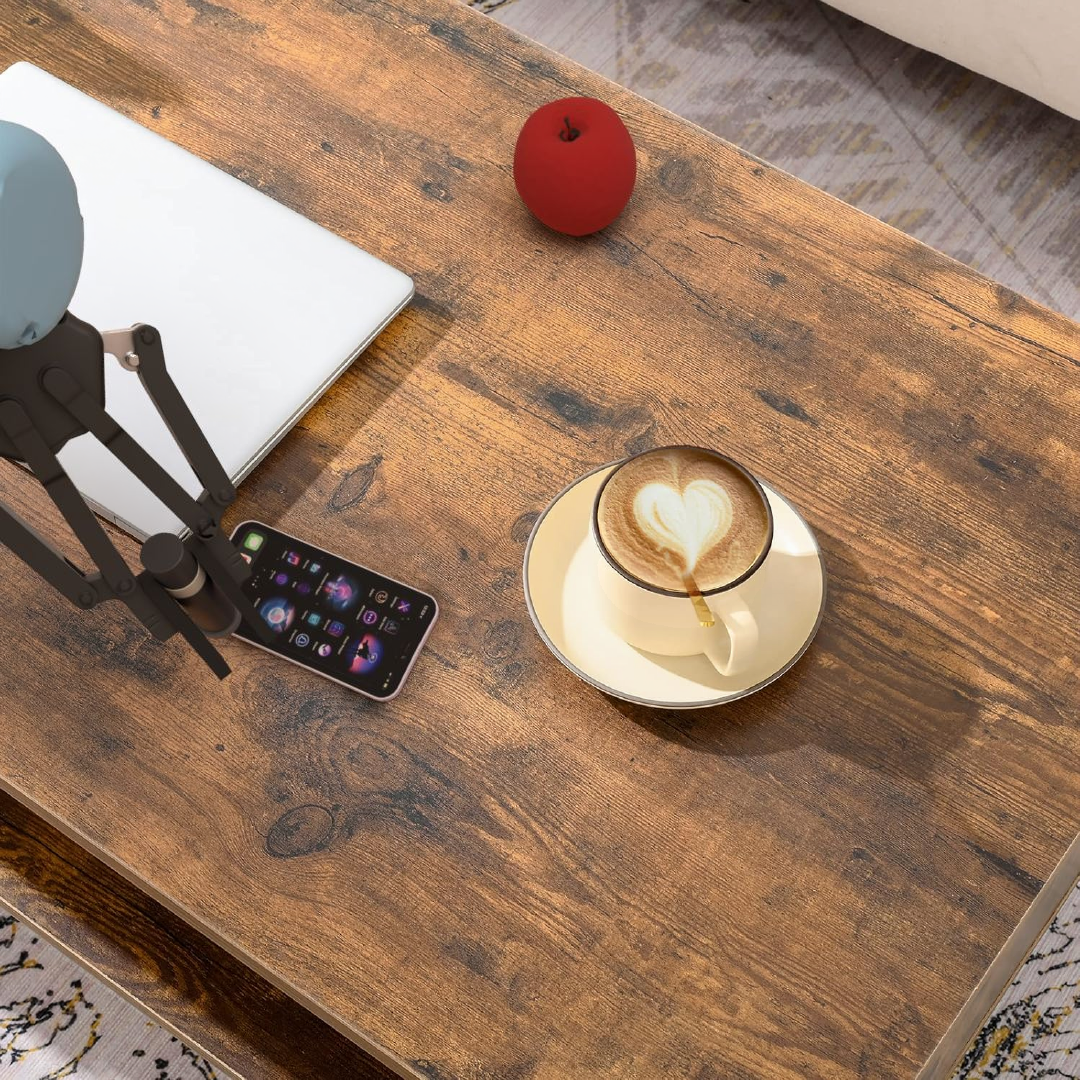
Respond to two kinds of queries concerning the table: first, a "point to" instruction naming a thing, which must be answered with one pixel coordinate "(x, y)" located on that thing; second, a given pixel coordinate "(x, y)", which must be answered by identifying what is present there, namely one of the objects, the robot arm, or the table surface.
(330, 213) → the table surface
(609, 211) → the apple
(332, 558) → the smartphone
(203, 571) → the pepper grinder
